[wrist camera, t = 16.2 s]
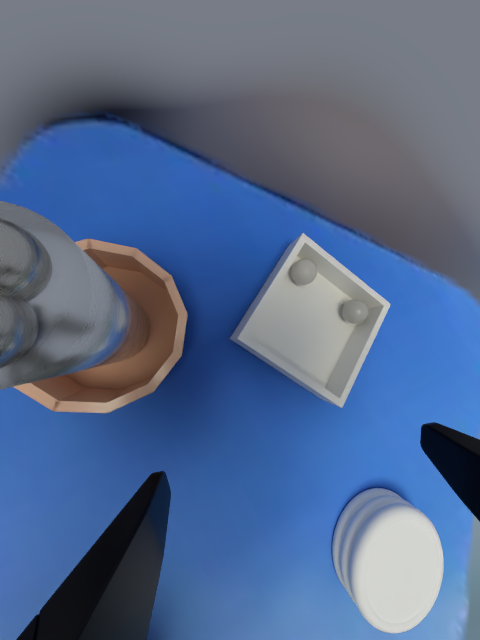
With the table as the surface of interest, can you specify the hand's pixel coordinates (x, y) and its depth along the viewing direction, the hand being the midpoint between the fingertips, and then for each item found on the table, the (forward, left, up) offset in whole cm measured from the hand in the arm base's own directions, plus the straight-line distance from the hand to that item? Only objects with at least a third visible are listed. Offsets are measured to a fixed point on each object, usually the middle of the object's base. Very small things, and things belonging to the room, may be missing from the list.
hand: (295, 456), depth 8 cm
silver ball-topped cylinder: (-6, +8, -12) cm, 16 cm away
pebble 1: (+11, +7, -12) cm, 18 cm away
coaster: (+8, -21, -13) cm, 26 cm away
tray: (+10, +2, -13) cm, 16 cm away
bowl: (-6, +8, -13) cm, 16 cm away
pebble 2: (+14, +1, -12) cm, 19 cm away
